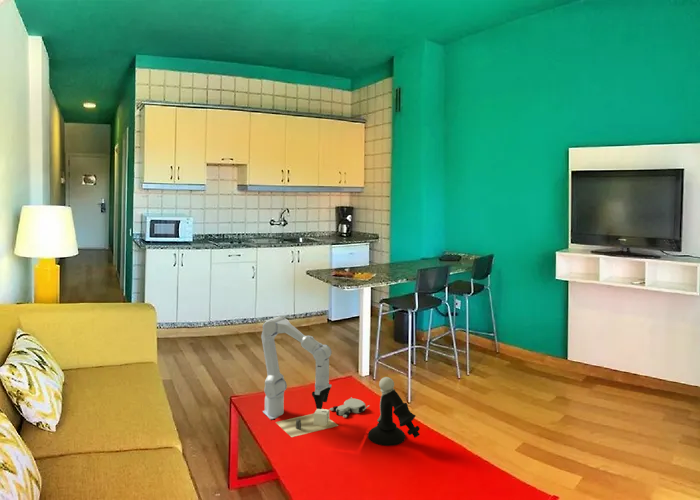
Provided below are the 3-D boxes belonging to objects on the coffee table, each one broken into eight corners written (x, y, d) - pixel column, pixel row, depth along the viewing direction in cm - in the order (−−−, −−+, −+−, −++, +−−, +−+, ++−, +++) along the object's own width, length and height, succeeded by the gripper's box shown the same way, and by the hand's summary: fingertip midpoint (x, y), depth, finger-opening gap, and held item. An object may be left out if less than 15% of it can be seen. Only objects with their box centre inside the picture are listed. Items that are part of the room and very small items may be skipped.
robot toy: (345, 424, 228) (370, 412, 238) (345, 414, 227) (370, 403, 237) (328, 414, 237) (353, 404, 247) (327, 405, 237) (352, 395, 246)
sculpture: (384, 425, 225) (386, 369, 222) (429, 444, 209) (432, 383, 206) (360, 436, 214) (361, 377, 211) (406, 457, 198) (408, 393, 195)
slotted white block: (313, 424, 222) (313, 413, 222) (317, 419, 227) (317, 408, 227) (325, 426, 221) (325, 414, 220) (329, 420, 226) (329, 409, 226)
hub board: (275, 424, 224) (275, 414, 223) (320, 414, 235) (320, 404, 235) (291, 439, 210) (291, 428, 210) (338, 427, 222) (338, 417, 221)
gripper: (326, 381, 214) (326, 412, 215) (335, 369, 228) (335, 399, 229) (310, 379, 216) (309, 411, 217) (320, 368, 230) (319, 398, 231)
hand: (321, 405), depth 223 cm, fingers open, 7 cm apart
